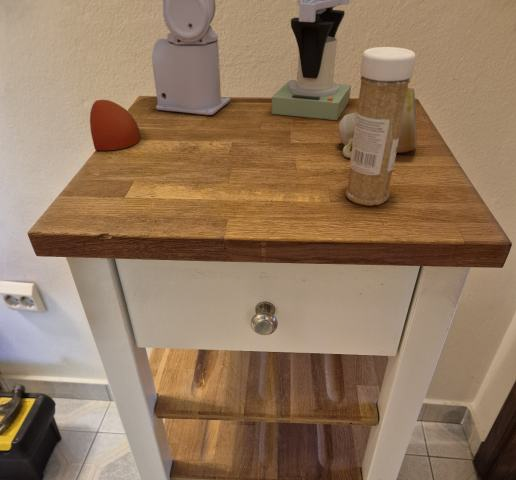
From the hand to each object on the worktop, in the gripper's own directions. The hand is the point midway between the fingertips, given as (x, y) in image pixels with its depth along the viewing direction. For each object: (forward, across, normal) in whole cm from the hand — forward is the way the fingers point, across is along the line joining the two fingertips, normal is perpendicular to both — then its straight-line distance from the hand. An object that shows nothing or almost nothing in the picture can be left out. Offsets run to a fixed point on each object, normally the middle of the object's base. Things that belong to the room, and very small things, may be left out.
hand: (314, 72), depth 70 cm
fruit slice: (+1, -22, +19) cm, 29 cm away
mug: (+5, -16, -12) cm, 20 cm away
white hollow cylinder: (+2, 0, 0) cm, 2 cm away
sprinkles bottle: (+5, -30, -13) cm, 33 cm away
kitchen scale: (+5, 0, 0) cm, 5 cm away
